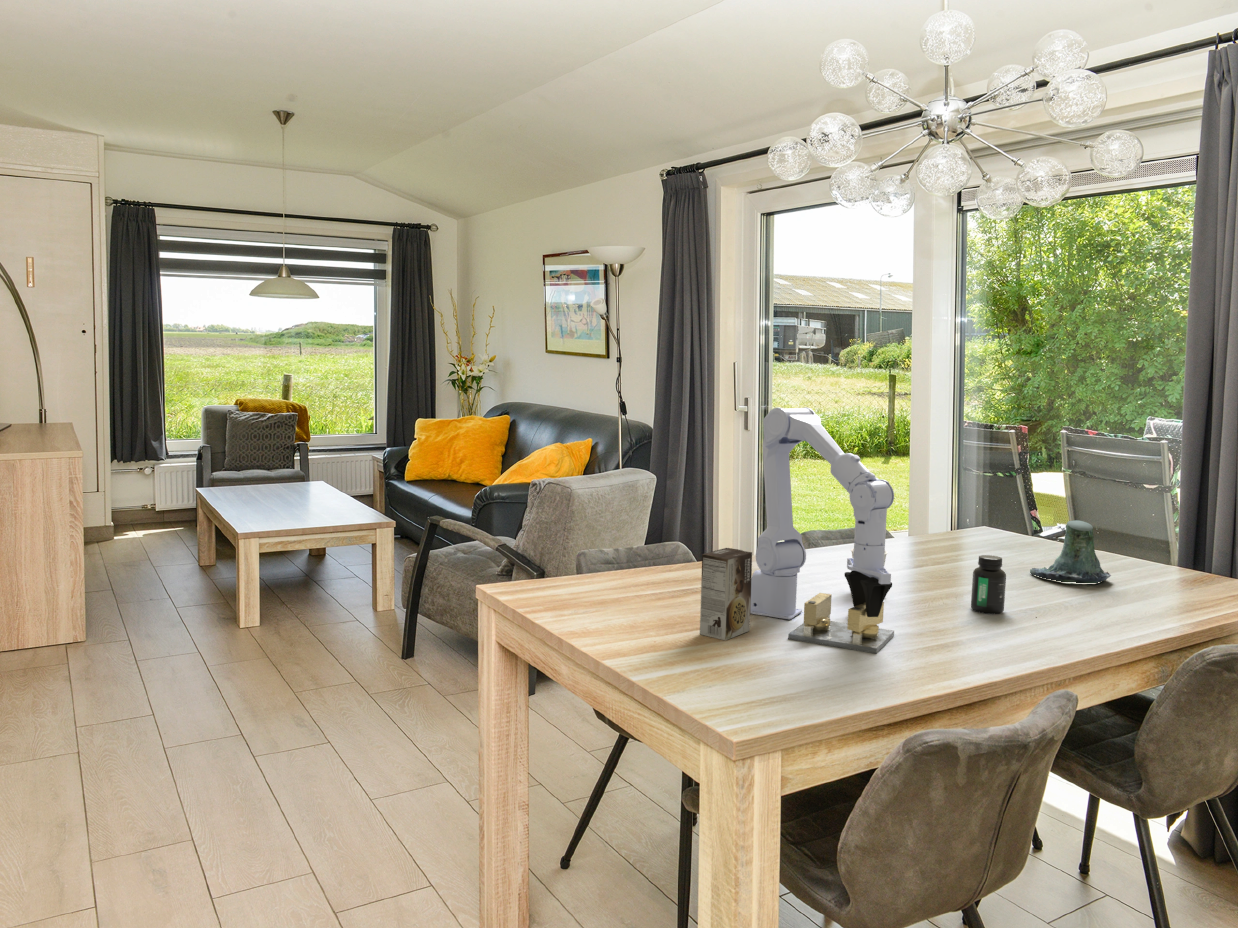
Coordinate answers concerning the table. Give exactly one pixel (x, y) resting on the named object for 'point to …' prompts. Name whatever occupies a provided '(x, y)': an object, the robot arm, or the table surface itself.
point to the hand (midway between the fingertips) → (865, 612)
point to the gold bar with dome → (864, 621)
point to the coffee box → (725, 593)
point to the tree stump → (1075, 557)
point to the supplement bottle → (988, 586)
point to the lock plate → (834, 629)
